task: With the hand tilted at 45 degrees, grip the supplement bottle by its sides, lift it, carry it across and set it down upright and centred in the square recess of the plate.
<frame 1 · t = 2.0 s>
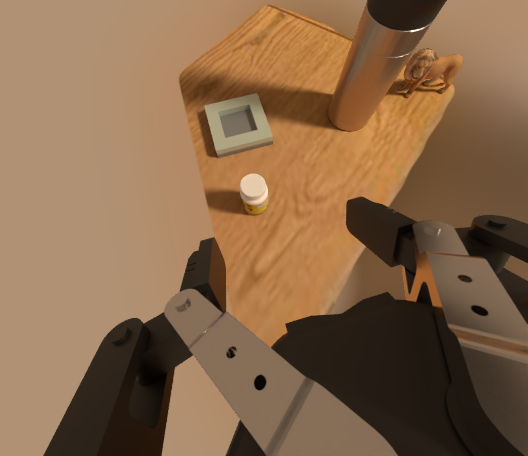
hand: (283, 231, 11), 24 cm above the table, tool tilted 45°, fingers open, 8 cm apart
supplement bottle: (256, 205, 37), on the table
recess plate: (239, 128, 42), on the table
lion figurine: (415, 93, 44), on the table
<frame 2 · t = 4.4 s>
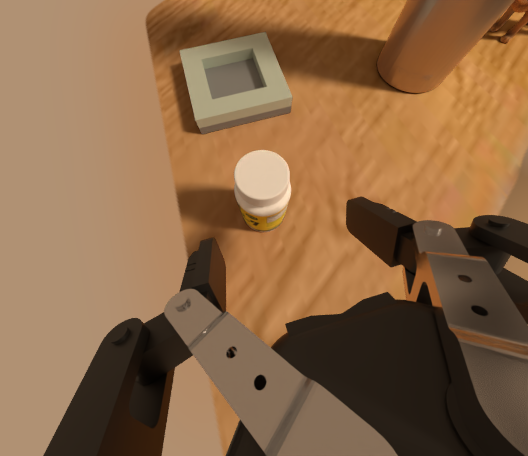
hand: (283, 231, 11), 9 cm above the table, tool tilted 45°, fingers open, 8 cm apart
supplement bottle: (263, 213, 21), on the table
recess plate: (235, 89, 26), on the table
lion figurine: (515, 37, 28), on the table
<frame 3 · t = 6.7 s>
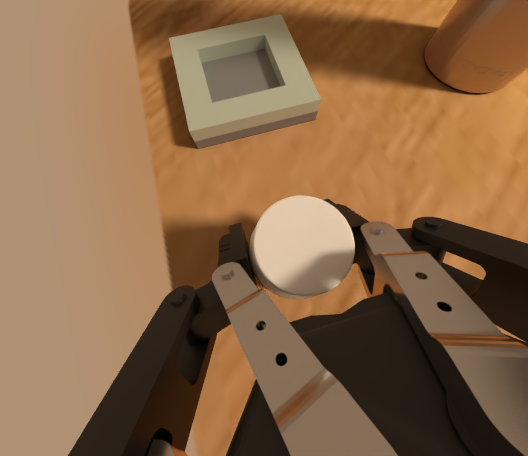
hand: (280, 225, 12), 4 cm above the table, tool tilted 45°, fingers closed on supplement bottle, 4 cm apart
supplement bottle: (283, 260, 15), on the table, touching gripper
recess plate: (242, 89, 20), on the table
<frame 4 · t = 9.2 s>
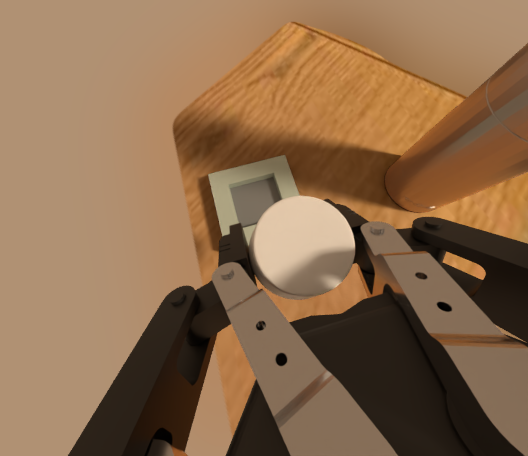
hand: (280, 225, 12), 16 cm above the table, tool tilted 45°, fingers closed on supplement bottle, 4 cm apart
supplement bottle: (283, 260, 15), point 11 cm above the table, touching gripper
recess plate: (258, 205, 29), on the table
when the fingers open (6 cm above the table, at t = 11.7 s): supplement bottle drops 1 cm, resting on recess plate.
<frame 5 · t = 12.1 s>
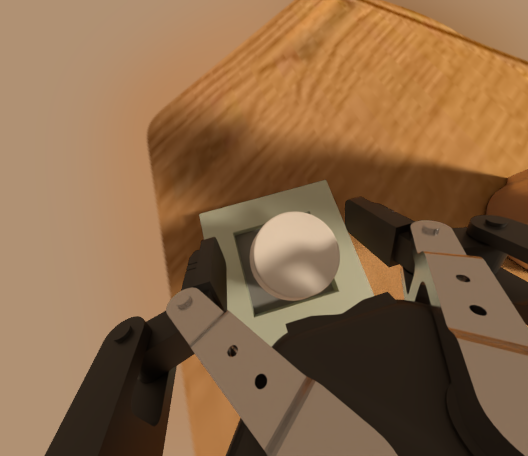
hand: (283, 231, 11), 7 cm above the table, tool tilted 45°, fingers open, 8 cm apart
supplement bottle: (282, 264, 17), point 1 cm above the table, touching recess plate
recess plate: (281, 262, 18), on the table
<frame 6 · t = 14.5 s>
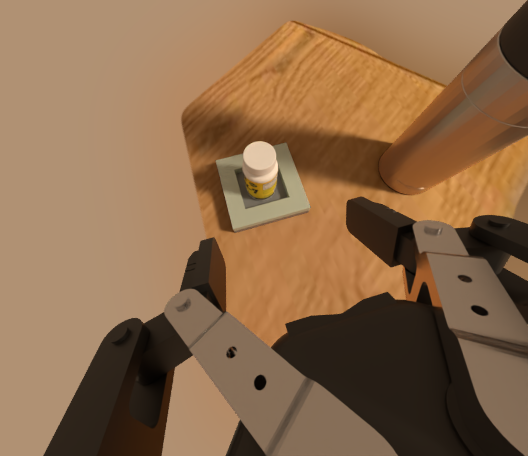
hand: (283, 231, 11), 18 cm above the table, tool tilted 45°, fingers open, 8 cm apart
supplement bottle: (261, 188, 30), point 1 cm above the table, touching recess plate
recess plate: (261, 189, 31), on the table
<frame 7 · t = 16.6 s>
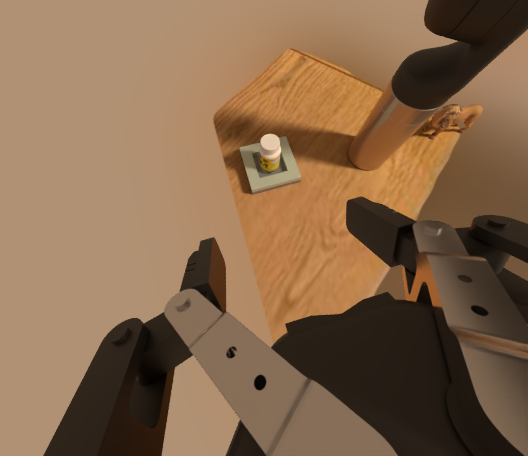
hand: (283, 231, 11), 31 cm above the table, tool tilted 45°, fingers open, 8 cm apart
supplement bottle: (269, 166, 46), point 1 cm above the table, touching recess plate
recess plate: (269, 167, 47), on the table
lion figurine: (438, 133, 49), on the table
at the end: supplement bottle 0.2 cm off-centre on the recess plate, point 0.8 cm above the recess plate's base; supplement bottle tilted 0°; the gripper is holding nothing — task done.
